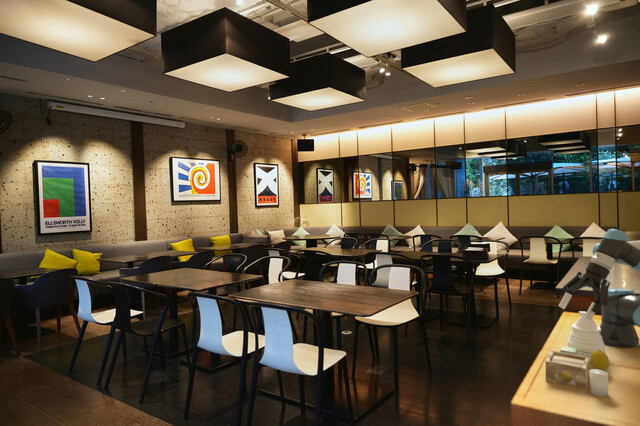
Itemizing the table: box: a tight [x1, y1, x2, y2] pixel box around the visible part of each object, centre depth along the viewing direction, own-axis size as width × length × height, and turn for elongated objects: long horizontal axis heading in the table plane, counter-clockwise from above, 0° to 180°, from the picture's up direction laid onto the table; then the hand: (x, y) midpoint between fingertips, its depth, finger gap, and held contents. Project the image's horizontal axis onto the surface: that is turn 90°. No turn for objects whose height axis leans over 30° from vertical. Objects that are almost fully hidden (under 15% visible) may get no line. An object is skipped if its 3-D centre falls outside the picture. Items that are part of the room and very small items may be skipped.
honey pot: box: [566, 310, 606, 363], centre depth 169 cm, size 13×13×18 cm
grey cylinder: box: [589, 368, 609, 398], centre depth 138 cm, size 5×5×7 cm
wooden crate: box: [545, 350, 590, 389], centre depth 150 cm, size 12×12×7 cm
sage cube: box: [559, 345, 577, 355], centre depth 164 cm, size 5×5×5 cm
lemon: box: [590, 350, 610, 371], centre depth 154 cm, size 6×6×8 cm
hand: (573, 313), depth 167 cm, fingers open, 13 cm apart
